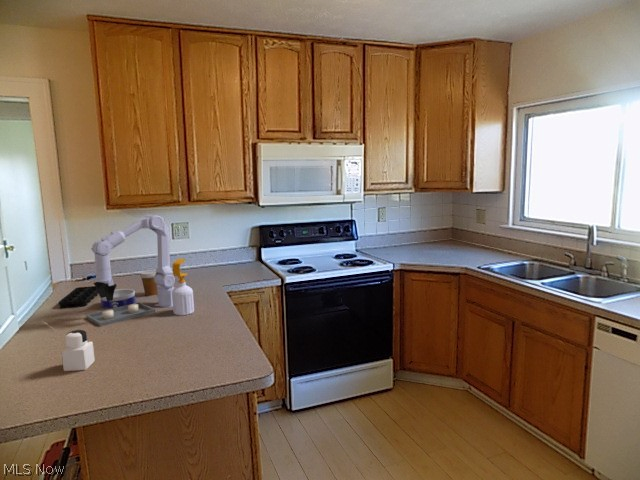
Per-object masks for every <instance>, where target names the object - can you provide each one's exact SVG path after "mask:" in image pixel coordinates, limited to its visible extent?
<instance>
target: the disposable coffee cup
mask: <svg viewBox="0 0 640 480" xmlns="http://www.w3.org/2000/svg"><path fill="white" fill-rule="evenodd" d="M155 274H156V269H154V270H153V269H151V270H145V271H141V273H140V277H141V281H142V282H141V283H142V287H143V290H144V294H145V297H150V296H158V293H157V284H156V283H155V282H154V276H155Z"/></svg>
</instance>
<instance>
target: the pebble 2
mask: <svg viewBox="0 0 640 480" xmlns="http://www.w3.org/2000/svg"><path fill="white" fill-rule="evenodd" d="M137 312H139V308H138V304H130V305H128V313H130V314H133V313H137Z"/></svg>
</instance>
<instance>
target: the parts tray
mask: <svg viewBox="0 0 640 480" xmlns="http://www.w3.org/2000/svg"><path fill="white" fill-rule="evenodd" d="M134 304H138V308H139V312H137V313H133V314H130V313H128V305H126V306H121V307H117V308H113V309H109V308H108V310H113V312H114V318H113V319H110V320H103V314H102V312H103V311H105V310H100V311H96V312H93V313H88V314H86V315H85V316H86V317H85V318H86V319H87V320H89V321H90V322H91V323H93V324H95V325H96V326H98V327H104V326H107V325H112V324H115V323H119V322H124V321H127V320H130V319H135V318H138V317H142V316H147V315H150V314H154V313H156V308H154V307H151V306H149V305H147V304H145V303H142V302H140V301H139V302H135V303H134Z"/></svg>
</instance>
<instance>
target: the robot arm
mask: <svg viewBox="0 0 640 480" xmlns="http://www.w3.org/2000/svg"><path fill="white" fill-rule="evenodd" d="M141 229H149V230H152V231H153V232H154V233H155V234H156V235H157V237H156V238H157V240H156V242H157V243H156V244H157V268H156V269H155V270H156V274H155V276H154V282H155V283H156V284H157V293H158V294H157V301H158V303H156V304H154V306H155V307H162V308H163V307H164V308H171V307H172V308H173V301H172V291H173V290H174V289H175V288H176V287H175V286H174V285H175V282H176V278H175V276H174V275H173V268H172V267H171V263H170V262H171V261H170V259H171V258H170V257H171V256H170V254H171V253H170V252H171V251H170V250H171V249H170V228H169V227H168V226H167V224H166V220H165V219H164V218H163V217H162V216H160V215H155V214H148V213H147V214H145V215H143V216H140V217H139V218H137V220H135V221H133V222H132V223H130V224H129V225H128V226H126V227H125V228H124V229H121V230H113V231H112V230H111V231H110V233H109V235H106V236H105V237H102V238H100V239H101V240H97V241H94V242H93V244H92V245H91V246H92V247H91V251H92V252H93V253H94V262H95V263H94V264H95V274H96V276H95V279H94V280H93V285H94V286H96V288H97V290H98V293H99V294H98V295H99V298H100V299H101V298H104V297H106V299H107V301H112V300H113V295H114V291H115V290H116V288H117V284H116V283H115V282H114V280H113V277H112V267H111V260H110V259H111V258H110V253H111V252H112V250H113V249H116V247H118V246H119V245H121V244H122V243H124V242H125V240H126V238H127V237H129V236H130V235H132V234H134V233H136V232H139V230H141Z"/></svg>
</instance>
